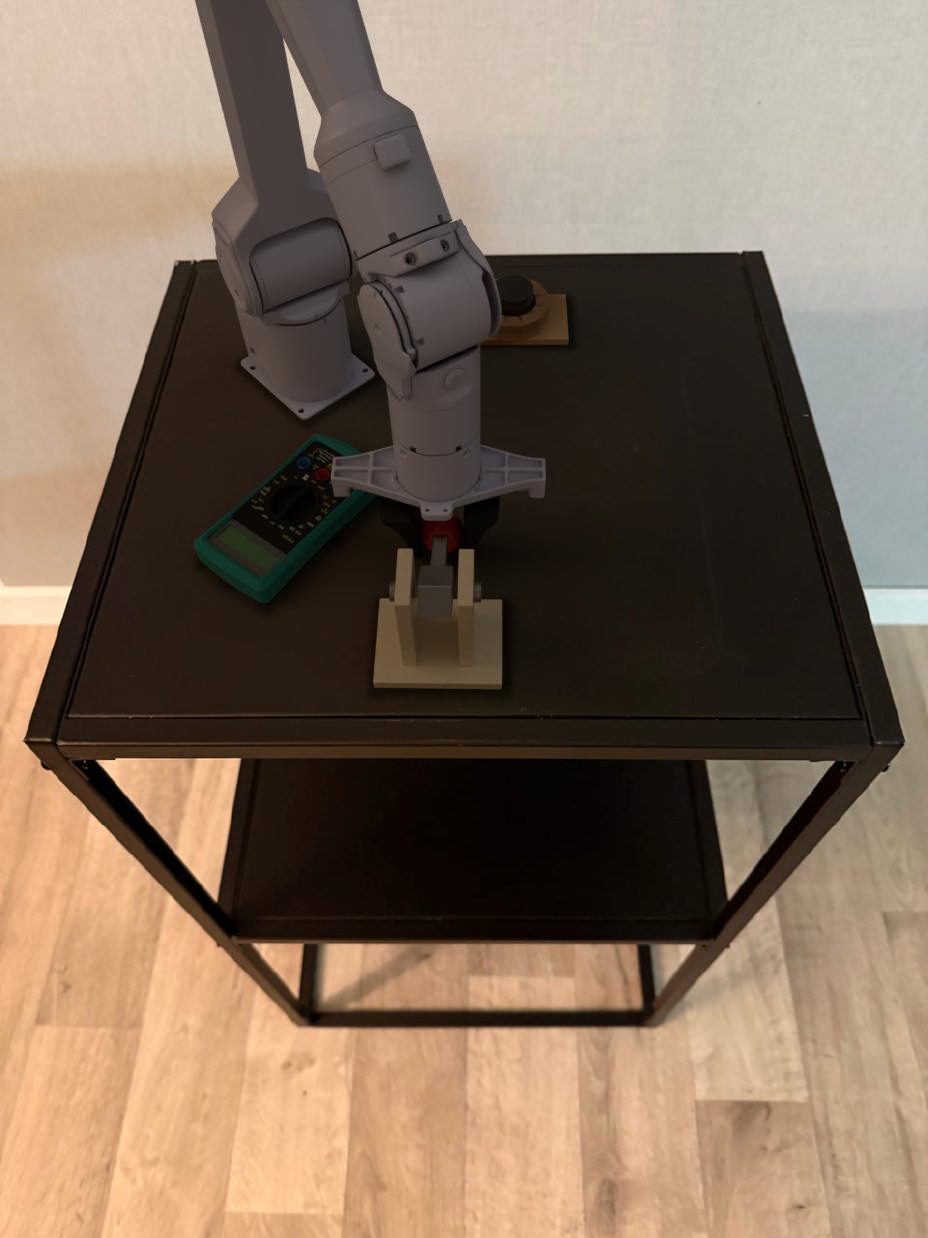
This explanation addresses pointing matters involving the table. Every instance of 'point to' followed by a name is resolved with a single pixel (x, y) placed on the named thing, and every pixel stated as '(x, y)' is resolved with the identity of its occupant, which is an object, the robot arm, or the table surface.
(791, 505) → the table surface
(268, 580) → the digital multimeter
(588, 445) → the table surface
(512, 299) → the button
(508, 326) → the button block
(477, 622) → the switch bracket
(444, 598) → the switch lever
